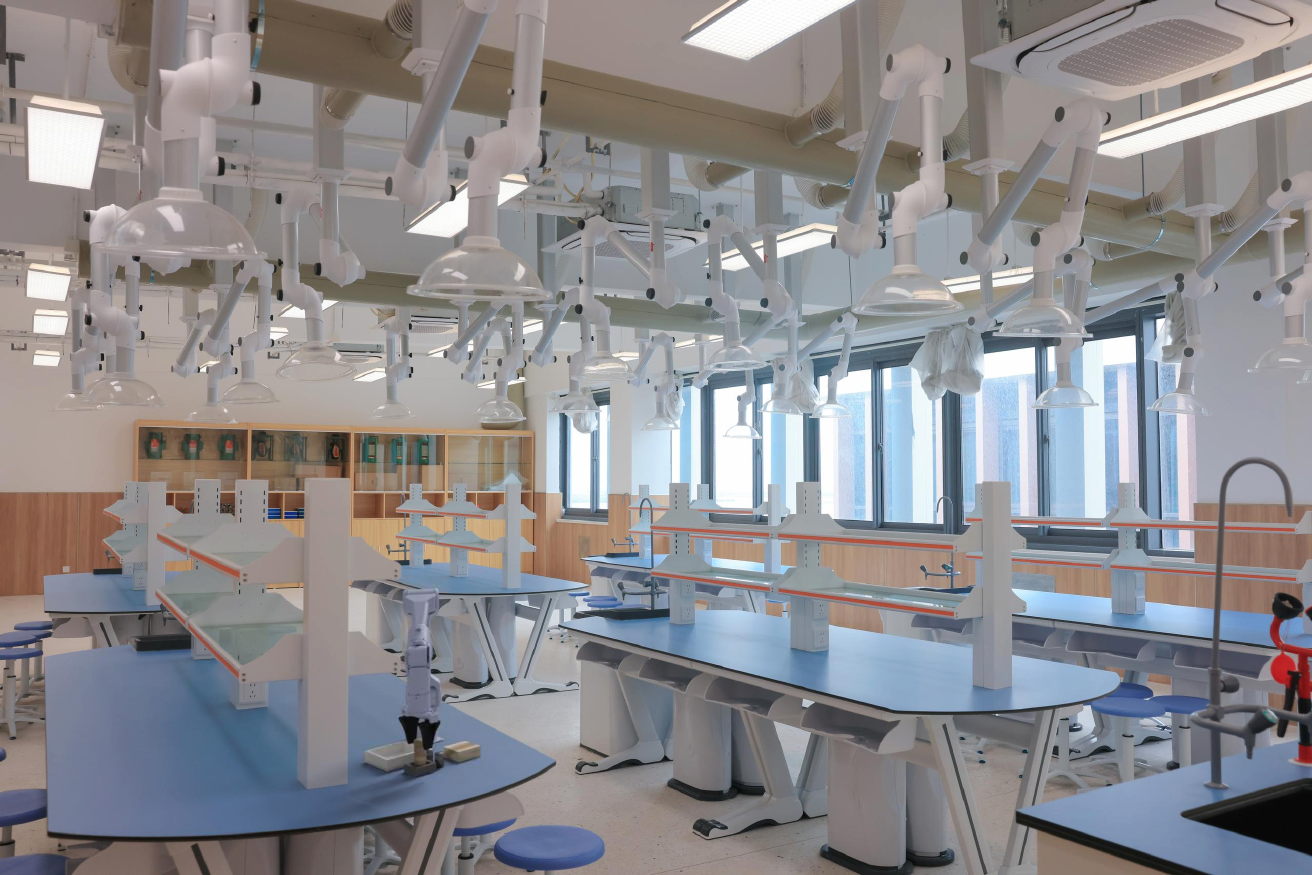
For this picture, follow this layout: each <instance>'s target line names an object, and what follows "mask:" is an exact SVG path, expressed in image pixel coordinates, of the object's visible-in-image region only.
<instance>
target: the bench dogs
mask: <svg viewBox="0 0 1312 875" xmlns="http://www.w3.org/2000/svg"><path fill="white" fill-rule="evenodd" d="M426 759H427V760H430V761H433V762H435V763H436V769H441V768H444V767H445V757H444V751H435V752H434V748H433V747H432V748H431V749H428V750H426Z"/></svg>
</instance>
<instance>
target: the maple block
mask: <svg viewBox="0 0 1312 875" xmlns="http://www.w3.org/2000/svg"><path fill="white" fill-rule="evenodd" d="M442 750H443V752H444V759H448V760H452V761H454V762H457V763H460V762H464V761H469V760H471V759H475V758H478V757H480V756H481V755H482V754H481V753H482V752H481V745H479V744H476V743H473V742H470V741H466V740H464V741H460V742H459V741H458V742H456V743H452V744H450V745H449V744H448V745H445V746H443V749H442Z"/></svg>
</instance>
